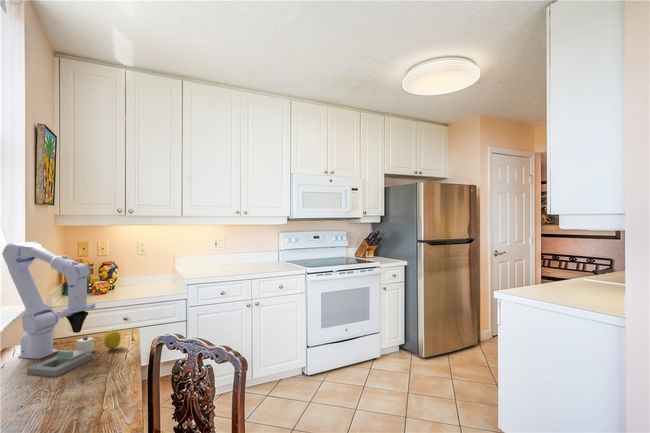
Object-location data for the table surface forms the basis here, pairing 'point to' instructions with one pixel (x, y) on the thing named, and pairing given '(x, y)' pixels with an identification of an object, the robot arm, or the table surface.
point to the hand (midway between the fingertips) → (76, 332)
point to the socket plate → (63, 365)
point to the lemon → (112, 339)
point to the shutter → (69, 354)
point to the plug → (85, 344)
